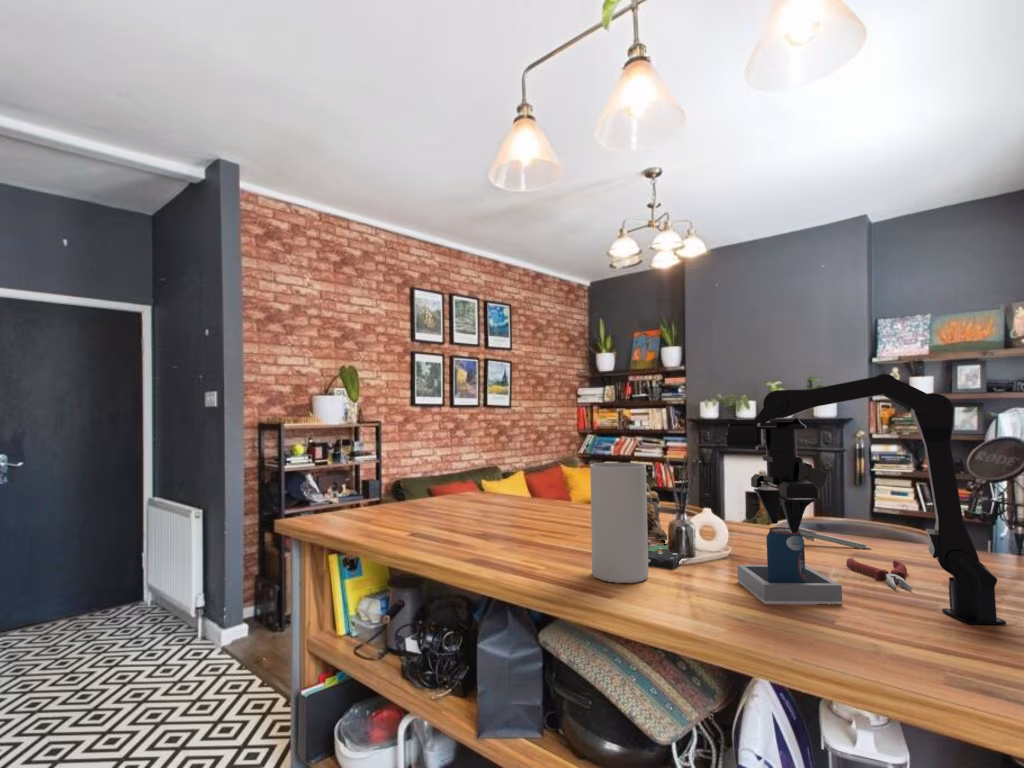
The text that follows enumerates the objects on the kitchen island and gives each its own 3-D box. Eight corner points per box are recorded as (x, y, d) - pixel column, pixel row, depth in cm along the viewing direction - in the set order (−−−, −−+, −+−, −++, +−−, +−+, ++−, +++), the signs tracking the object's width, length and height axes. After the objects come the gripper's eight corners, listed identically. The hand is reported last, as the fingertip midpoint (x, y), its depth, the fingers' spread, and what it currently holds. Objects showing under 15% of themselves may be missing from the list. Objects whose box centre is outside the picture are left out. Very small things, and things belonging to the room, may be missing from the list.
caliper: (786, 544, 156) (785, 522, 156) (786, 544, 157) (785, 521, 157) (871, 550, 148) (870, 526, 149) (870, 549, 149) (869, 525, 150)
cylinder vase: (604, 566, 134) (602, 462, 135) (655, 573, 127) (652, 463, 129) (583, 579, 123) (581, 466, 125) (638, 588, 117) (635, 468, 118)
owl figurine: (664, 551, 149) (662, 487, 150) (621, 548, 154) (619, 485, 155) (672, 537, 166) (670, 479, 167) (632, 534, 170) (631, 478, 171)
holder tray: (842, 604, 105) (841, 585, 106) (765, 604, 106) (764, 584, 106) (805, 582, 120) (805, 565, 120) (738, 581, 120) (737, 565, 121)
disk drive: (675, 572, 130) (692, 557, 143) (675, 560, 131) (692, 546, 143) (633, 566, 136) (653, 552, 148) (632, 554, 136) (652, 542, 149)
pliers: (872, 592, 114) (871, 579, 114) (844, 567, 133) (844, 555, 134) (937, 597, 111) (937, 583, 111) (900, 570, 130) (899, 559, 130)
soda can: (811, 595, 109) (808, 533, 110) (773, 594, 110) (771, 532, 111) (799, 585, 116) (797, 526, 116) (764, 583, 117) (762, 525, 118)
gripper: (846, 454, 105) (850, 538, 104) (800, 448, 123) (802, 519, 123) (786, 454, 105) (789, 537, 104) (749, 448, 124) (751, 519, 123)
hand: (784, 527), depth 114 cm, fingers open, 9 cm apart
